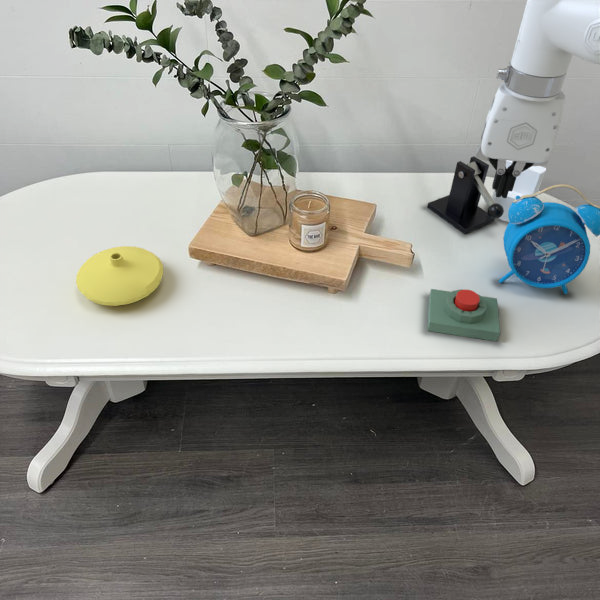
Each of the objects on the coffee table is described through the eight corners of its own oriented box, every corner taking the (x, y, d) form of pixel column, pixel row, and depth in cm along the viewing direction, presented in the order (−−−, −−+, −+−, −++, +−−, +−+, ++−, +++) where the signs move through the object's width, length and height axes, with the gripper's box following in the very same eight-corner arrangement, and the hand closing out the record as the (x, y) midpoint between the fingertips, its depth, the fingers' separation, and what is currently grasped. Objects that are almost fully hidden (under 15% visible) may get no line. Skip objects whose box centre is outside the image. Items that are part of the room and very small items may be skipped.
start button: (477, 298, 103) (479, 291, 101) (477, 313, 100) (480, 306, 98) (454, 295, 103) (456, 287, 102) (454, 310, 100) (456, 302, 99)
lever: (500, 218, 121) (509, 211, 118) (489, 223, 120) (498, 216, 117) (469, 167, 123) (477, 159, 120) (458, 171, 122) (466, 163, 119)
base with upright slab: (536, 210, 130) (553, 163, 122) (518, 227, 125) (535, 179, 117) (500, 195, 134) (514, 149, 126) (481, 211, 129) (495, 164, 121)
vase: (72, 316, 102) (61, 287, 97) (87, 260, 113) (79, 231, 108) (162, 312, 103) (156, 283, 98) (168, 257, 114) (163, 228, 110)
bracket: (494, 221, 127) (509, 170, 118) (464, 234, 123) (478, 182, 114) (455, 196, 134) (468, 146, 125) (426, 207, 130) (437, 156, 121)
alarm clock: (489, 289, 110) (519, 201, 96) (489, 257, 117) (517, 171, 104) (581, 305, 107) (625, 216, 94) (575, 271, 114) (615, 184, 101)
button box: (494, 306, 106) (499, 291, 104) (496, 341, 100) (502, 325, 97) (428, 297, 108) (432, 281, 105) (427, 330, 101) (431, 314, 99)
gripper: (481, 85, 78) (453, 200, 91) (595, 96, 76) (551, 211, 89) (478, 65, 84) (453, 176, 96) (585, 75, 82) (545, 186, 94)
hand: (500, 193), depth 92 cm, fingers closed
